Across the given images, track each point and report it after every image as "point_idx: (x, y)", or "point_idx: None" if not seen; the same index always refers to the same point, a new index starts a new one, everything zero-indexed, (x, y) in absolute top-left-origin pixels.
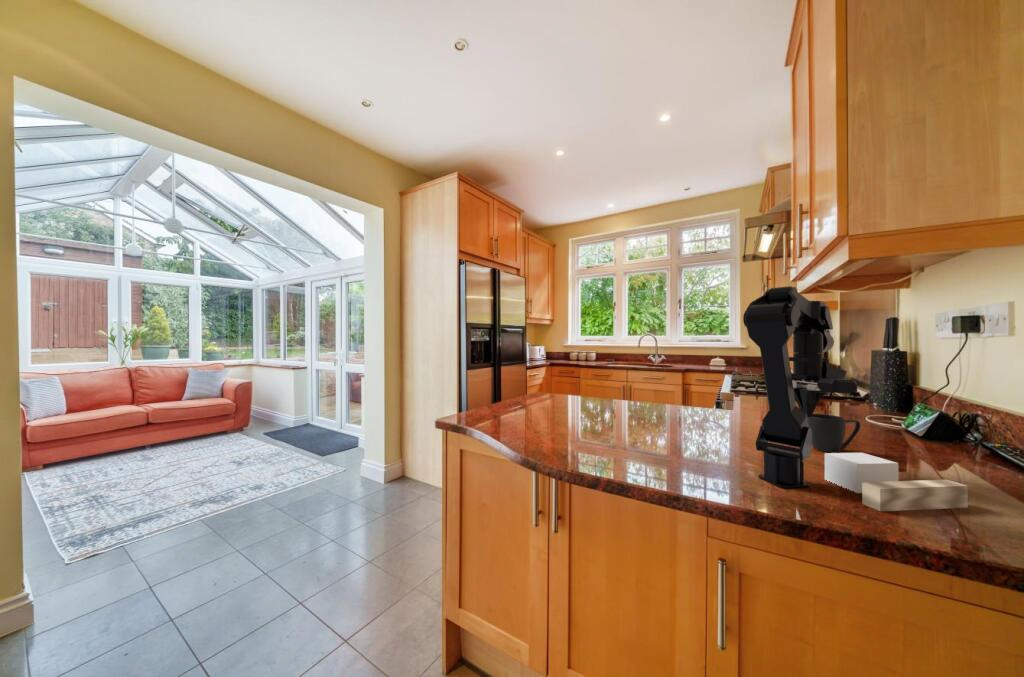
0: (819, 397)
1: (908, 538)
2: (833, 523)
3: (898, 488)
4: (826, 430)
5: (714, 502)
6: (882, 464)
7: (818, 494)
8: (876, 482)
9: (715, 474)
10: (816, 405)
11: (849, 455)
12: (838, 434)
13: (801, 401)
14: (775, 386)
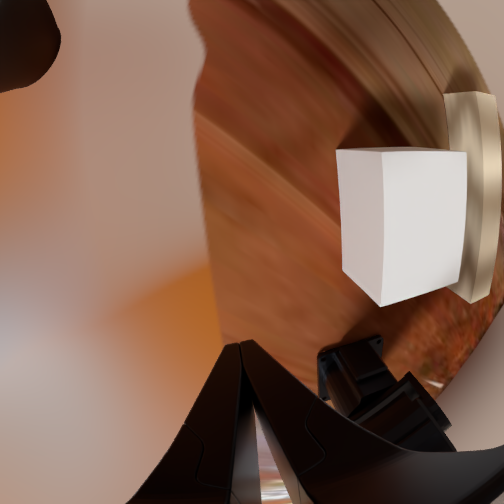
0: (383, 455)
1: (495, 300)
2: (459, 357)
3: (495, 258)
4: (16, 47)
5: None
6: (463, 204)
7: (405, 333)
8: (477, 275)
9: None
10: (310, 391)
11: (409, 241)
12: (40, 10)
13: (258, 485)
14: None
